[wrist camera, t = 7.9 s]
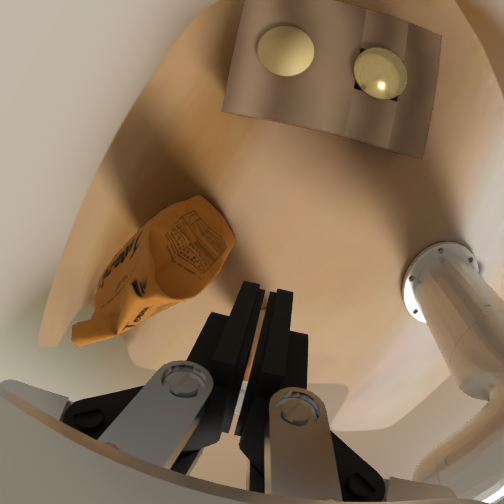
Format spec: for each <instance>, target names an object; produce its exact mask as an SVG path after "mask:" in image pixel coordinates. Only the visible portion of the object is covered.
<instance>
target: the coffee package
mask: <svg viewBox="0 0 504 504" xmlns="http://www.w3.org/2000/svg"><path fill="white" fill-rule="evenodd" d="M235 243H236V238H235V235H234V234H233V232H232V231H231V229H230V227H229V226H228V224H227V222H226V220H225V219H224V218H223V216H222V215H221V214H220V213H219V212H218V211H217V210H216V209H215V207H214V206H213V205H212V204H211V203H210V202H208V201H207V200H206V199H205V198H204V197H202V196H201V195H196V196H194V197H192V198H190V199H188V200H186V201H181V202H177V203H175V204H173V205H171V206H169V207H167V208H165V209H163V210H162V211H160V212H159V213H157V214H156V215H155V216H153V217H152V218H151V219H150V220H148V221H147V223H146V224H145V225H144V226H143V227H142V228H141V229H140V230H139V231H138V232H137V233H136V234H135V235H134V236H133V237H132V238H131V239H130V240H129V241H128V242H127V243H126V244H125V245H124V247H123V248H122V249H121V250H120V251H119V252H118V253H117V254H116V255H115V256H114V258H113V259H112V261H111V262H110V264H109V265H108V266H107V268H106V269H105V271H104V273H103V274H102V276H101V278H100V280H99V283H98V287H97V293H96V299H95V301H96V302H95V311H94V313H93V315H92V318H91V319H90V320H88V321H83V322H78V323H76V324H75V325H73V327H72V339H71V340H72V342H73V343H74V344H75V345H76V346H77V347H79V346H83V345H86V344H88V343H92V342H97V341H101V340H105V339H108V338H111V337H115V336H117V335H118V334H119V333H122V332H124V331H127V330H129V329H131V328H132V327H133V326H135V325H136V324H137V323H139V322H140V321H142V320H145V319H147V318H149V317H151V316H153V315H155V314H157V313H159V312H161V311H163V310H165V309H167V308H169V307H171V306H173V305H176V304H178V303H179V302H182V301H185V300H188V299H191V298H193V297H195V296H197V295H198V294H199V293H200V292H201V291H202V290H204V289H205V288H206V286H207V285H208V284H209V283H210V282H211V281H212V280H213V279H214V277H215V276H216V275H217V274H218V273H219V272H220V270H221V268H222V266H223V264H224V262H225V260H226V258H227V257H228V255H229V252H230V250H231V249H232V248H233V246H234V245H235Z"/></svg>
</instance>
